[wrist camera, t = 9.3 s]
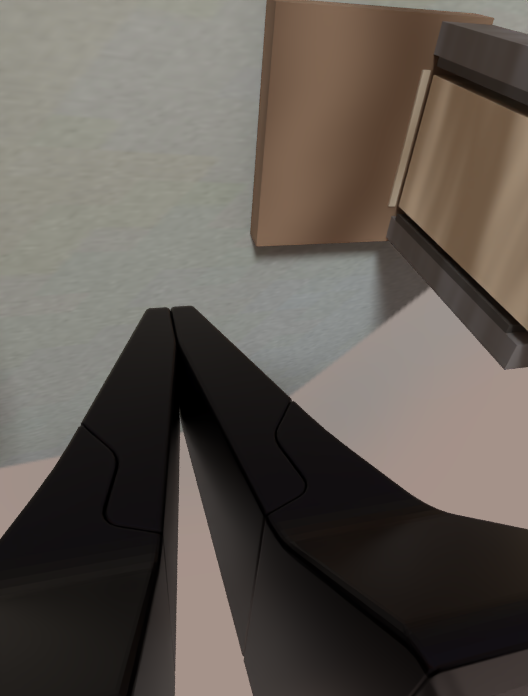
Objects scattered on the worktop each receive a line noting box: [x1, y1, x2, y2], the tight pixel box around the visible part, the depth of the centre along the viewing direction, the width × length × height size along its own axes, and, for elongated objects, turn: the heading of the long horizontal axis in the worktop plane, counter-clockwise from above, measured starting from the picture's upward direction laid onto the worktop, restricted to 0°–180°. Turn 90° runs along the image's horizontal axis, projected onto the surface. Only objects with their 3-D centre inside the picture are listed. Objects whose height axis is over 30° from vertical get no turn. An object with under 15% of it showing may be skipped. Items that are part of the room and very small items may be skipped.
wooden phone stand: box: [250, 0, 528, 370], centre depth 16 cm, size 8×9×10 cm
